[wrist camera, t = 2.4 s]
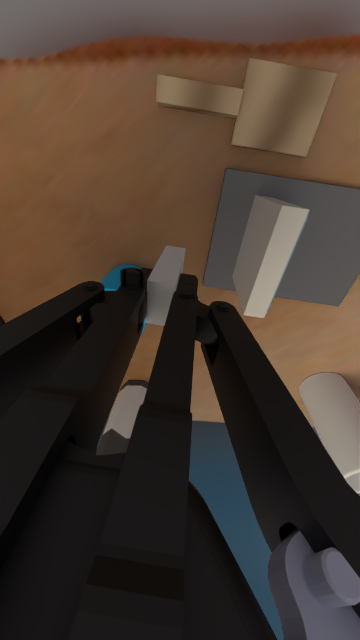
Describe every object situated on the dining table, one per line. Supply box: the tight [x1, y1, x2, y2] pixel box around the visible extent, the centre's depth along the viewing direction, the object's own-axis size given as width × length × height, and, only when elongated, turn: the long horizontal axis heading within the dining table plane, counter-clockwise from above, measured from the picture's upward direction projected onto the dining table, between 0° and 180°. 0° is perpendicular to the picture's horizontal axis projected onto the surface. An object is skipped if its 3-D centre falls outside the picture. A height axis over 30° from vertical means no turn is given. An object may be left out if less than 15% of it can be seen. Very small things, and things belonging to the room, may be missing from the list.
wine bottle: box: [96, 380, 148, 455], centre depth 36 cm, size 8×8×30 cm
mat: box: [203, 169, 360, 306], centre depth 28 cm, size 20×14×1 cm
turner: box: [156, 58, 337, 157], centre depth 21 cm, size 16×6×2 cm, turn 82°
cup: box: [299, 372, 360, 493], centre depth 36 cm, size 8×8×16 cm
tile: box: [232, 195, 309, 318], centre depth 23 cm, size 2×10×10 cm, turn 173°
